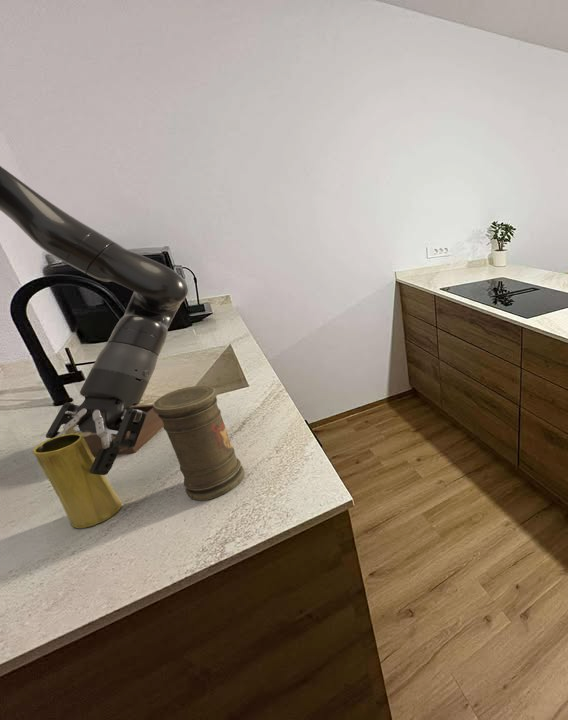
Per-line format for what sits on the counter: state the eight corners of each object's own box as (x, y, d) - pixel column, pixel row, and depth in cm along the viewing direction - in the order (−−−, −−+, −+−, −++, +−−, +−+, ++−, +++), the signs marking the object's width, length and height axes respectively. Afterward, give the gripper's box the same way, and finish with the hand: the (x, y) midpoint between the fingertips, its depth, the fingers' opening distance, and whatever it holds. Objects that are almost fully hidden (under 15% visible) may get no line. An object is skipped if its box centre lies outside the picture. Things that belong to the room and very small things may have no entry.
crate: (70, 458, 75) (59, 438, 73) (113, 426, 86) (104, 407, 84) (134, 452, 77) (125, 432, 75) (169, 422, 87) (161, 403, 85)
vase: (115, 520, 61) (76, 448, 55) (64, 534, 58) (17, 460, 52) (127, 495, 66) (93, 427, 60) (81, 507, 63) (40, 437, 57)
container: (203, 507, 63) (166, 416, 56) (176, 489, 67) (139, 401, 60) (255, 476, 70) (228, 391, 63) (228, 461, 74) (200, 379, 67)
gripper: (63, 363, 62) (8, 464, 56) (135, 369, 60) (86, 474, 54) (110, 378, 69) (65, 469, 63) (176, 383, 67) (136, 478, 61)
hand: (75, 471), depth 58 cm, fingers open, 8 cm apart
